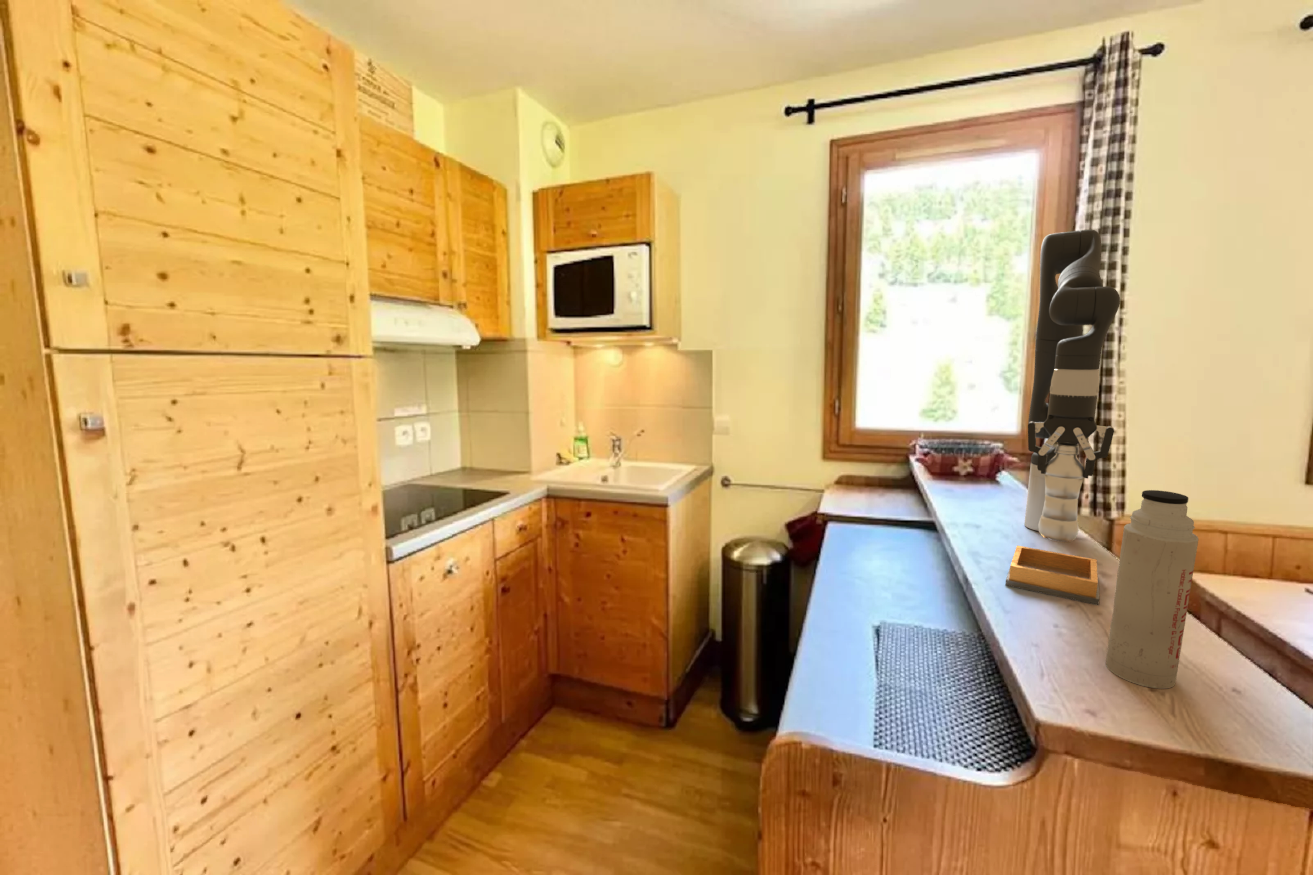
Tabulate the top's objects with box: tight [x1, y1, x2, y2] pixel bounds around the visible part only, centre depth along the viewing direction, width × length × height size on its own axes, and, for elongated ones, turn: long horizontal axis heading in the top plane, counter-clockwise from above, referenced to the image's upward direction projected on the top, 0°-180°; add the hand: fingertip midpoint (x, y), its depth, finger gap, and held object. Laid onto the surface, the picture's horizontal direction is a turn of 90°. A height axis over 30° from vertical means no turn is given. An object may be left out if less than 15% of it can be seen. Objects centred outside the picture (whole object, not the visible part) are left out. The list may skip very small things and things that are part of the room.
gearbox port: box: [1005, 545, 1100, 606], centre depth 114 cm, size 15×15×4 cm
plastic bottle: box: [1038, 442, 1085, 543], centre depth 112 cm, size 6×7×20 cm
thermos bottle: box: [1105, 489, 1199, 690], centre depth 81 cm, size 8×8×28 cm
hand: (1063, 475), depth 111 cm, fingers closed on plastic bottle, 6 cm apart
